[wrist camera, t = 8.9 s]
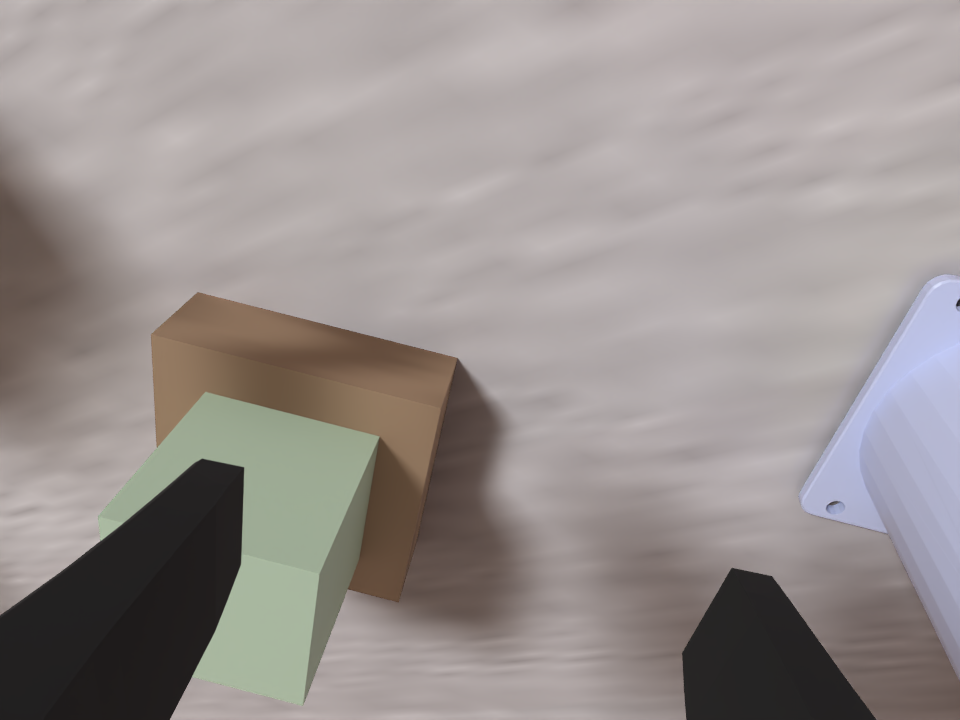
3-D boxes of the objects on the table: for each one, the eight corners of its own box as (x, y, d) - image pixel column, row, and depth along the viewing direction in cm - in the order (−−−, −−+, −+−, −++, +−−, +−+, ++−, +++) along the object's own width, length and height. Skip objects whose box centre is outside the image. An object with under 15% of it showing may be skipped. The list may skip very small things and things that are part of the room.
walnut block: (459, 351, 21) (440, 408, 19) (418, 535, 26) (398, 602, 23) (203, 286, 22) (151, 334, 19) (204, 480, 26) (161, 540, 23)
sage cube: (379, 436, 20) (319, 574, 15) (359, 559, 22) (302, 705, 18) (205, 392, 20) (98, 516, 16) (205, 519, 22) (113, 656, 18)
